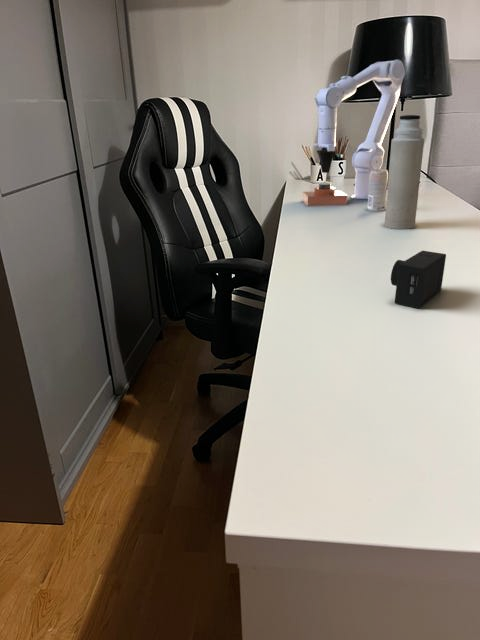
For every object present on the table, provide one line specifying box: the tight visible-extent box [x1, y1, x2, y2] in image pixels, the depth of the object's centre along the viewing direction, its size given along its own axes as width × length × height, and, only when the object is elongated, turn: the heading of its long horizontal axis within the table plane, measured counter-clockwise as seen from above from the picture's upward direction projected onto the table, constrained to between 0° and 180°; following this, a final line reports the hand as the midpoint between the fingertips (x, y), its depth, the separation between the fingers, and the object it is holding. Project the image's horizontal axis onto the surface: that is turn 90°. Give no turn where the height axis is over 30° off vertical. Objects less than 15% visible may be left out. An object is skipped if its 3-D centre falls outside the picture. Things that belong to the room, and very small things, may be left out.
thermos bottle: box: [383, 114, 425, 230], centre depth 131 cm, size 8×8×28 cm
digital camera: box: [390, 250, 447, 310], centre depth 86 cm, size 10×5×7 cm, turn 141°
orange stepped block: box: [302, 186, 348, 207], centre depth 169 cm, size 13×10×5 cm
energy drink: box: [366, 168, 389, 212], centre depth 155 cm, size 5×5×12 cm
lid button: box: [318, 182, 332, 189], centre depth 168 cm, size 4×4×2 cm
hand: (325, 172), depth 166 cm, fingers closed
